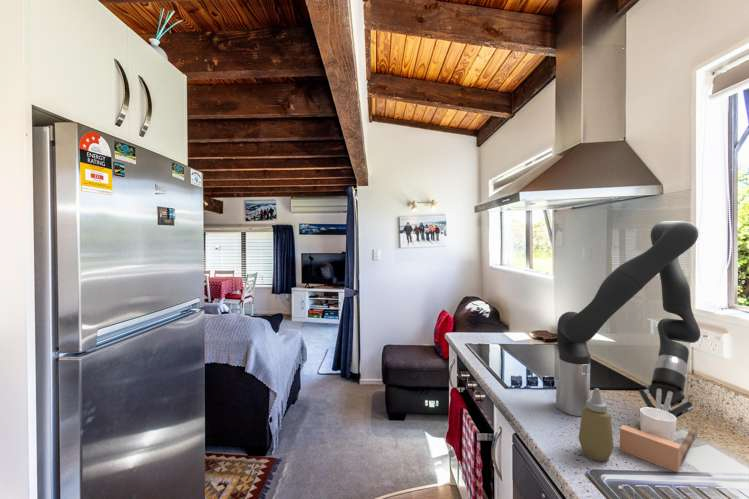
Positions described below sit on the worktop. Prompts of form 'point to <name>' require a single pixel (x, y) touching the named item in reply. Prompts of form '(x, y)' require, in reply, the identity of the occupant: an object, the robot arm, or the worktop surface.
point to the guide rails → (686, 442)
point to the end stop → (650, 448)
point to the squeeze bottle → (596, 429)
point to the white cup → (658, 423)
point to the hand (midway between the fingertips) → (659, 426)
